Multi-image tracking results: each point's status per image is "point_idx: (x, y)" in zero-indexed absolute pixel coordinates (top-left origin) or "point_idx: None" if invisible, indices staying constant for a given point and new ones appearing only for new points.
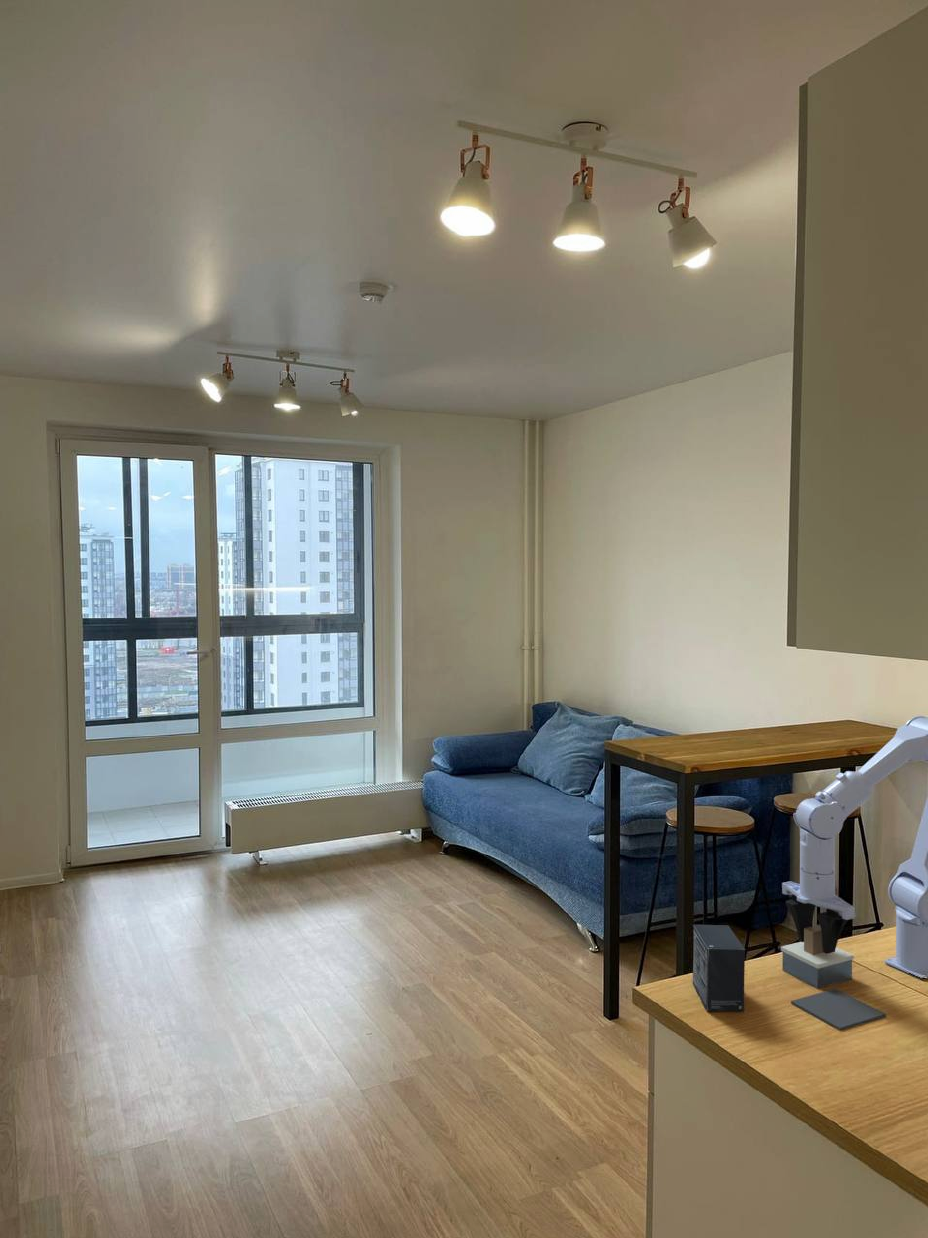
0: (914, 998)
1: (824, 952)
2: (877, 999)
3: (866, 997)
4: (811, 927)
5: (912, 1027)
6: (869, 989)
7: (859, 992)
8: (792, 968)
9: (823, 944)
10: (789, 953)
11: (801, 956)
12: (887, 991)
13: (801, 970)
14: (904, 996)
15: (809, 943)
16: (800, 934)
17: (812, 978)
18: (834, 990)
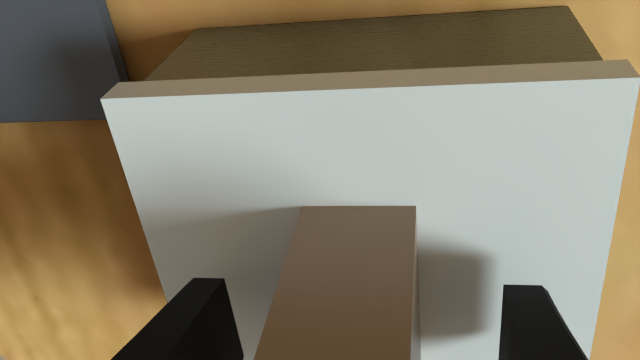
0: (6, 351)
1: (212, 279)
2: (6, 224)
3: (33, 196)
4: None
5: None
6: (120, 272)
7: (95, 208)
8: (452, 33)
9: (167, 325)
10: (488, 70)
11: (315, 94)
12: (85, 318)
13: (343, 46)
14: (28, 336)
15: (332, 272)
16: (516, 333)
17: (228, 45)
18: (105, 89)
